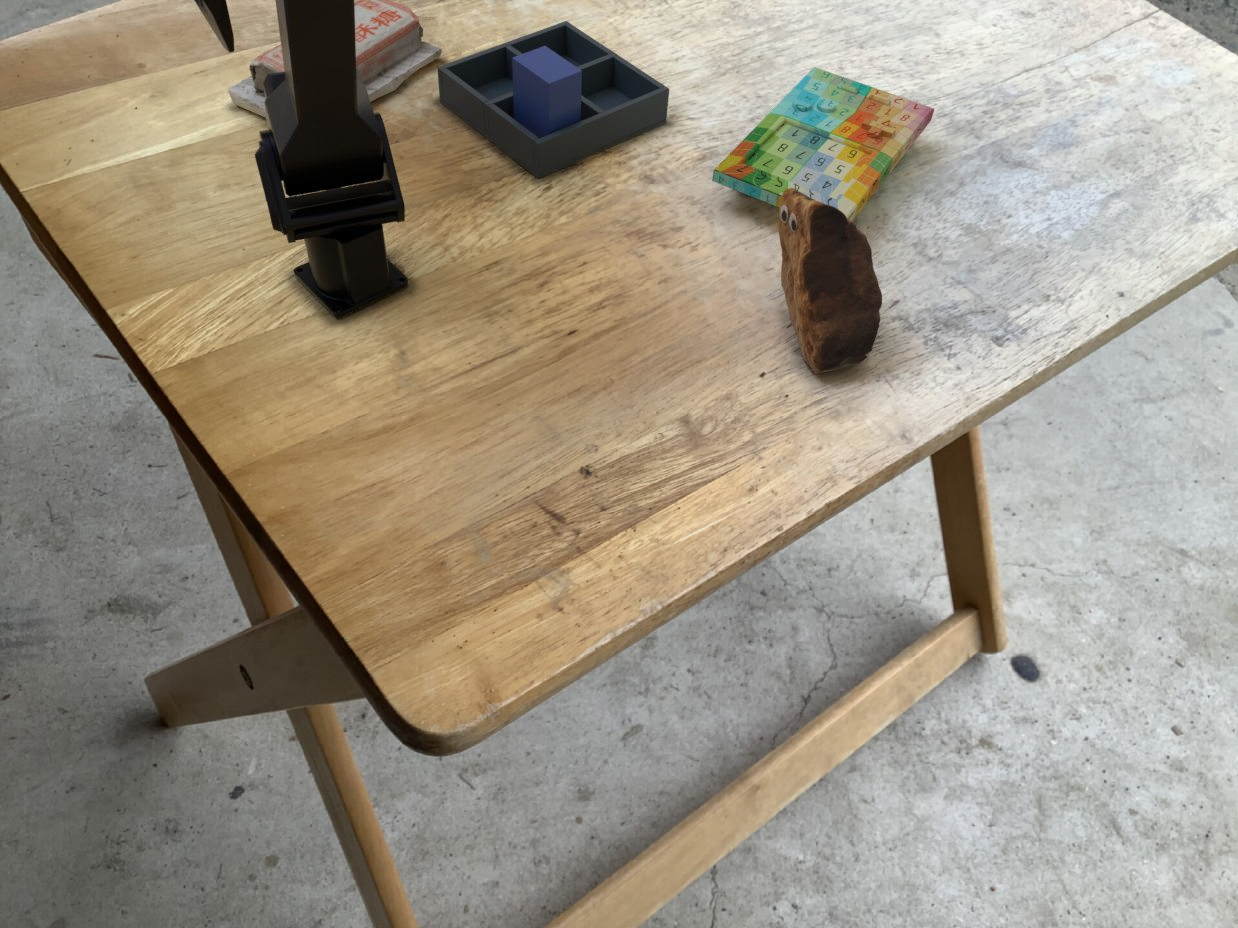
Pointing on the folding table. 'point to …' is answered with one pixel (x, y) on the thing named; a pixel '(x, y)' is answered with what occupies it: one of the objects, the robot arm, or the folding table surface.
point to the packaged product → (357, 54)
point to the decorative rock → (827, 283)
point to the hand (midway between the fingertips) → (284, 32)
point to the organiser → (609, 99)
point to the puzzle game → (825, 143)
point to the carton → (545, 91)
